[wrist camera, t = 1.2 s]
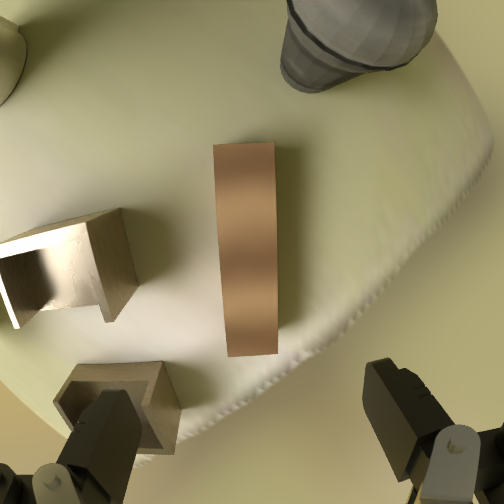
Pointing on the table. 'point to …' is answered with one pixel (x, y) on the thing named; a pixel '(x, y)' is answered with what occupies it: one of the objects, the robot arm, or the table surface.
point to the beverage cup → (351, 39)
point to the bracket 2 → (140, 392)
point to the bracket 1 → (68, 267)
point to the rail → (248, 246)
